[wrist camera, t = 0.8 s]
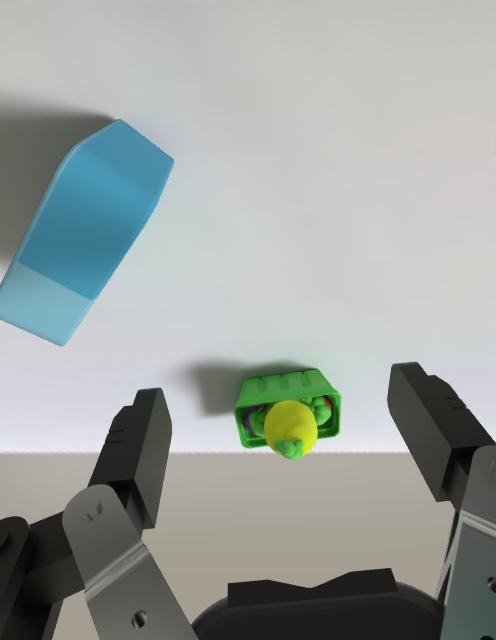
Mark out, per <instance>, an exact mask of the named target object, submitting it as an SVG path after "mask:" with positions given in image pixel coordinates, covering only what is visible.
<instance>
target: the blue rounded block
mask: <svg viewBox="0 0 496 640" xmlns="http://www.w3.org/2000/svg"><path fill="white" fill-rule="evenodd" d="M173 164H174V160H173V159H172V158H171V157H170V156H168V155H167V154H166V153H165V152H163V151H162V150H161V149H159V148H158V147H157V146H155V145H154V144H153V143H152V142H150V141H149V140H148V139H146V138H145V137H144V136H142V135H141V134H140V133H139V132H137V131H136V130H135V129H133V128H132V127H131V126H129V125H128V124H127V123H126V122H124V121H123V120H121V119H118V120H116V121H114V122H112V123H111V124H109V125H107V126H105V127H104V128H102V129H100V130H98V131H97V132H95V133H93V134H92V135H90V136H88V137H86V138H85V139H83V140H81V141H79V142H78V143H76V144H75V145H74V146H73V147H72V148H71V149H70V150H69V151H68V152H67V154H66V155H65V157H64V158H63V159H62V161H61V163H60V164H59V166H58V168H57V169H56V171H55V173H54V175H53V177H52V179H51V181H50V183H49V185H48V187H47V189H46V191H45V193H44V196H43V198H42V200H41V202H40V204H39V206H38V208H37V210H36V212H35V214H34V216H33V218H32V220H31V222H30V224H29V227H28V229H27V231H26V233H25V235H24V237H23V239H22V241H21V243H20V245H19V247H18V249H17V251H16V253H15V255H14V258H13V260H12V262H11V264H10V266H9V268H8V270H7V272H6V274H5V276H4V278H3V280H2V282H1V284H0V320H3V321H5V322H7V323H9V324H12V325H14V326H16V327H18V328H20V329H23V330H25V331H27V332H29V333H32V334H34V335H36V336H38V337H40V338H43V339H45V340H47V341H49V342H52V343H54V344H56V345H58V346H64V345H66V344H67V342H68V341H69V339H70V338H71V336H72V335H73V333H74V332H75V330H76V329H77V327H78V326H79V324H80V323H81V321H82V320H83V318H84V317H85V315H86V314H87V312H88V311H89V309H90V308H91V306H92V305H93V303H94V302H95V300H96V299H97V297H98V296H99V294H100V292H101V291H102V289H103V288H104V286H105V285H106V283H107V282H108V280H109V279H110V277H111V276H112V274H113V273H114V271H115V270H116V268H117V267H118V265H119V264H120V262H121V261H122V259H123V258H124V256H125V255H126V253H127V252H128V250H129V249H130V247H131V245H132V244H133V242H134V241H135V239H136V238H137V236H138V235H139V233H140V232H141V230H142V229H143V227H144V226H145V224H146V222H147V221H148V219H149V217H150V216H151V214H152V212H153V211H154V209H155V207H156V205H157V203H158V201H159V198H160V196H161V194H162V191H163V189H164V186H165V184H166V181H167V179H168V177H169V174H170V172H171V169H172V167H173Z"/></svg>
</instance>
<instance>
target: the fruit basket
mask: <svg viewBox="0 0 496 640" xmlns="http://www.w3.org/2000/svg"><path fill="white" fill-rule="evenodd" d="M234 414H235V418H236V423H237V427H238V431H239V435H240V440H241V444H242V446H243V447H245V448H257V447H264V446H270V447H271V449H273V450H274V451H275V452H277V453H278V454H281V455H283V456H284V457H286V458H288V459H292V460H296V459H300V458H301V457H302V456H303V455H305V454H307V453H308V452H309V451H310V450H311V449H312V448H313V446H314V445H315V443H316V440H317V439H322V438H330V437H335V436H337V435H338V434H339V433H340V415H341V395H340V394H339V393H338V392H337V391H336V390H335V389H334V388H333V387H332V386H331V385H330V383H329V382H328V381H327V379H326V378H325V377H324V376H323V374H322V373H321V372H320V371H319V370H318V369H315V370H308V371H305V372H303V373H302V372H293V373H286V374H283V375H282V376H281V375H272V376H265V377H262V378H261V379H260V378H250V379H245V380H244V381H243V385H242V388H241V392H240V395H239V399H238V402H237V403H236V405H235V408H234Z"/></svg>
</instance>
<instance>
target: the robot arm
mask: <svg viewBox="0 0 496 640" xmlns="http://www.w3.org/2000/svg"><path fill="white" fill-rule="evenodd" d="M387 402H388V408H389V411H390V414H391V416H392V418H393V420H394V422H395V424H396V426H397V428H398V430H399V432H400V433H401V435H402V437H403V439H404V441H405V443H406V445H407V447H408V449H409V451H410V453H411V454H412V456H413V458H414V460H415V462H416V464H417V466H418V468H419V470H420V472H421V474H422V475H423V477H424V479H425V481H426V483H427V485H428V487H429V489H430V491H431V493H432V494H433V496H434V498H435V500H436V502H442V501H451V503H452V504H453V507H454V508H455V512H454V515H453V519H452V524H451V528H450V533H449V538H448V542H447V547H446V552H445V556H444V561H443V566H442V570H441V574H440V578H439V582H438V585H437V589H436V593H435V597H434V598H433V597H431V596H430V595H428V594H426V593H425V592H423V591H421V590H419V589H417V588H415V587H412V586H410V585H407V584H404V583H401V582H396V581H395V579H394V576H393V573H392V570H391V568H385V569H375V570H364V571H353V572H349V573H347V574H344V575H342V576H340V577H337V578H335V579H332V580H330V581H328V582H326V583H323V584H321V585H318V586H316V587H313V588H306V587H301V586H296V585H291V584H286V583H282V582H277V581H272V580H260V581H259V580H258V581H249V582H239V583H228V597H226V598H224V599H221V600H219V601H218V602H216V603H214V604H213V605H211V606H210V607H209V608H207V609H206V610H205V611H204V612H203V613H201V614H200V615H199V617H197V618H196V619H195V620H194V622H193V623H192V624H191V625H190V623H189V621H188V620H187V618H186V616H185V614H184V612H183V611H182V609H181V607H180V605H179V604H178V602H177V600H176V598H175V596H174V594H173V593H172V591H171V589H170V587H169V586H168V584H167V582H166V580H165V578H164V577H163V575H162V573H161V571H160V569H159V568H158V566H157V564H156V562H155V561H154V559H153V557H152V555H151V553H150V552H149V550H148V548H147V547H146V545H144V543H143V541H142V540H141V536H142V532H143V529H152V528H155V524H156V519H157V513H158V508H159V502H160V497H161V491H162V486H163V480H164V475H165V469H166V464H167V459H168V453H169V448H170V442H171V437H172V423H171V418H170V414H169V411H168V407H167V404H166V400H165V397H164V394H163V391H162V389H161V388H150V389H141V390H138V392H137V394H136V397H135V400H134V403H133V405H132V406H124V407H123V408H122V409H121V410H120V412H119V413H118V414H117V415H116V416H115V417H114V419H113V421H112V424H111V427H110V429H109V434H108V435H107V437H106V440H105V444H104V445H103V448H102V450H101V453H100V456H99V458H98V461H97V463H96V466H95V469H94V471H93V474H92V476H91V479H90V482H89V484H88V486H87V488H85V489H84V490H82V491H80V492H79V493H78V494H76V495H75V496H74V497H73V498H72V499H71V501H70V502H69V503H68V504H67V506H66V508H65V510H64V511H62V512H60V513H58V514H55V515H53V516H50V517H48V518H45V519H43V520H40V521H38V522H36V523H33V524H30V525H29V524H28V523H27V521H26V520H25V519H23V518H21V517H17V516H13V517H7V518H4V519H2V520H0V640H52V637H53V634H54V630H55V627H56V624H57V620H58V617H59V613H60V610H61V606H62V603H63V600H64V598H66V597H69V596H71V595H73V594H75V593H77V592H79V591H81V590H84V589H86V591H85V593H84V594H85V599H86V602H87V605H88V608H89V610H90V614H91V616H92V619H93V622H94V625H95V627H96V630H97V633H98V636H99V639H100V640H496V443H495V441H494V440H493V439H492V438H491V436H490V435H489V434H488V433H487V431H486V430H485V429H484V428H483V426H482V425H481V424H480V423H479V421H478V420H477V419H476V418H475V416H474V415H473V414H472V413H471V411H470V410H469V409H467V408H466V405H465V404H464V402H463V401H462V400H461V399H459V396H458V395H457V394H456V392H455V391H454V390H453V389H452V387H451V386H450V385H449V384H448V383H446V382H445V381H443V380H442V379H440V378H439V377H437V376H436V375H430V376H428V375H427V374H426V373H425V371H424V370H423V368H422V367H421V366H420V364H419V363H417V362H408V363H398V364H393V365H392V367H391V374H390V381H389V389H388V396H387Z"/></svg>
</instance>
